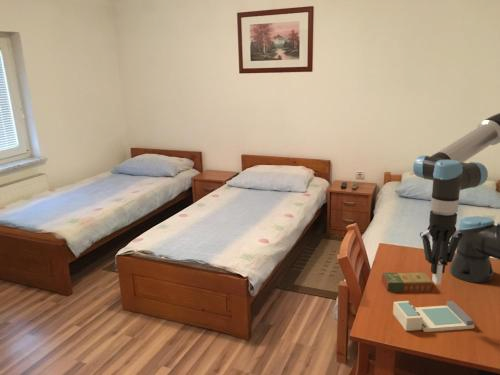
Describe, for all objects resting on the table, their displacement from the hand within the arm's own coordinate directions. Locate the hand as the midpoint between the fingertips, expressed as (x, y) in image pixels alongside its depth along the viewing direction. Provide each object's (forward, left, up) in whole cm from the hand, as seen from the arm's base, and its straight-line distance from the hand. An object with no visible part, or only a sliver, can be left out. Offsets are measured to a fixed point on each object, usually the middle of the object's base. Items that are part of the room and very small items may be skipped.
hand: (436, 282), depth 135 cm
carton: (-1, -23, -14) cm, 27 cm away
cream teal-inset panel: (-2, 0, -14) cm, 14 cm away
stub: (+9, 0, -14) cm, 16 cm away
